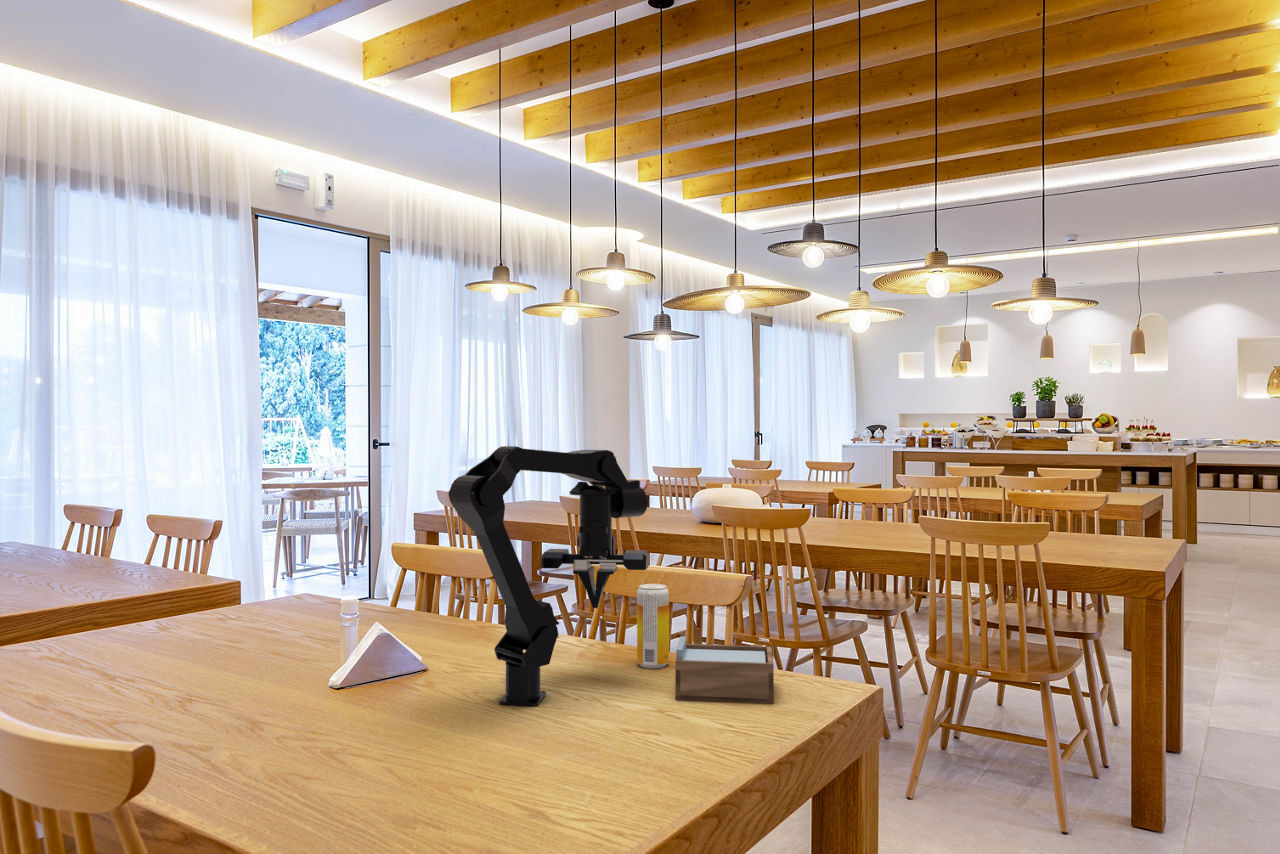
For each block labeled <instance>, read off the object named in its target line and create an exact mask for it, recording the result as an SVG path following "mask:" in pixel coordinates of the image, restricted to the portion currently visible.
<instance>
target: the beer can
mask: <svg viewBox="0 0 1280 854" xmlns="http://www.w3.org/2000/svg"><path fill="white" fill-rule="evenodd" d="M669 591H670V590H668V586H667V585H666V584H661V583H646V584H640V585H639V586H638V589H637V591H636V662H637V663H638V665H639V666H640V667H641V668H644V669H653V670H655V669H662V668H665V667H666V666H667V664H668V663H669V661H670V592H669Z"/></svg>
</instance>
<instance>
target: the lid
mask: <svg viewBox="0 0 1280 854" xmlns="http://www.w3.org/2000/svg"><path fill="white" fill-rule="evenodd" d="M686 644H687V636H686V635H685V636H684V635H681V636H680V637H679V639H678V644H677V646H676V650H675V651H676V652H675V661H676V660H694V661H724V662H754V663H766V660H765V651H739V650H707V649H686Z"/></svg>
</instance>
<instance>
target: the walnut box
mask: <svg viewBox="0 0 1280 854" xmlns="http://www.w3.org/2000/svg"><path fill="white" fill-rule="evenodd" d="M686 649H707V650H739V651H765V660H766V663H754V662H724V661H694V660H676V659H675V666H674V667H675V668H674V669H675V674H674V675H675V680H674V681H675V689H674V690H675V691H674V692H675V693H674V694H675V701H688V702H690V701H691V702H692V701H693V702H713V703H714V702H715V703H716V702H717V703H719V702H720V703H736V704H737V703H741V704H766V705H767V704H768V705H774V699H775V698H774V695H775V693H774V691H775V690H774V689H775V688H774V685H775V684H774V681H775V680H774V676H775V675H774V673H775V672H774V670H775V668H774V664H775V663H774V658H773V651H772V646H767V645H735V644H710V643H709V644H707V643H706V644H705V643H686Z"/></svg>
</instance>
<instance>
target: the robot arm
mask: <svg viewBox="0 0 1280 854" xmlns="http://www.w3.org/2000/svg"><path fill="white" fill-rule="evenodd" d="M521 471H527V472H528V471H529V472H541V473H551V474H562V475H565V476H568V477H570V478H571V479H576V480H578V482H577V484H576V485H575V486H574V487H572V488H571V490H570V491H569V495H571V496H579V527H578V528H579V530H578V533H577V539H576V546H577V547H578V549H579V551H578V552H579V553H570V550H569V549H568V548H549V549H547V550H545V551H544V552H543V553H542V554H541V557H540V568H541V569H560V567H561V566H562V565H563V564H565V565H573V570H572V573H573V574H575V575H577V576H578V577H579V579H580V581H581V582H582V584H583V586H584V588H585V591H586V593H587V596H588V598H589V601H590V605H591V607H592V608H593V609H598V608H599V606H600V603H601V599H602V596H603V593H604V590H605V586H606V585H607V582H608V579H609V578H610V576H611V575H615V573H616V572H617V571H618V569H619V567H618V566H624V568H626V570H628V571H647V569H648V568H649V567H650V552H648V551H647V550H646V549H628V550H626V551H625V552H624V554H619V553H617V554H616V537H615V535H614V533H613V529H612V526H613V525H612V524H613V522H612V520H613V519H621V518H622V519H623V518H635V517H641V516H643V515H644V514H645V513H646V511H647V509H648V505H649V499H648V497H647V493H646V492H645V490H644V489H643V487H641V480H638V479H628V480H627V478H626V476H625V474H624V472H623V470H622V469H621V467H620V465H619V463H618V461H617V457H616V456H615V454H614V452H613V451H611V450H608V449H580V450H578V449H577V450H573V451H572V450H571V451H568V452H563V451H562V452H561V451H555V450H554V451H552V450H541V449H533V448H522V447H520V446H516V445H515V446H512V445H509V446H508V445H507V446H504V445H503V446H502V445H501V446H499V447H497V449H495V450H494V451H492V453H491V454H490V455H489V456H487V458H485V459H484V460H482V461H480V462H479V463H477V464H476V465H474V466H473V467H471V468H470V469H469V470H468V471H467V472H466V473H465V474H463V475H460V476H458V477H457V478H456V479H454V480H453V482H452V483H451V486H450V488H449V490H448V499H449V502H450V504H451V506H452V507H453V509H454V510H455V512H456V514H457V515H458V517H459V518H460V519H461V520H462V521H463V522H464V523H465V524H466V525H467V526H468V527H469V528H470V530H472V531H473V533H474V534H475V536H476V539H477V541H478V543H479V546H480V548H481V551H482V553H483V555H484V557H485V560H486V563H487V565H488V567H489V570H490V572H491V575H492V576H493V579H494V582H495V584H496V586H497V587H496V588H497V589H498V591H499V593H500V596H501V599H502V601H503V603H504V605H505V614H504V625H505V629H506V632H505V633H504V635H503V636H502V637H501V639H500V640H499V641H498V643H497V644H496V645H495V647H494V648H493V649H494V653H495V657H496V660H498V661H503V662H505V693H504V695H503V696H502V697H501V698H500V699H499V700H498V704H500V705H513V706H519V705H520V706H538V705H539V704H540V703H541V702H542V701H543V699H544V698H545V696H546V695H547V691H546V690H541V667H544V666H548V665H550V663H551V660H552V655H553V652H554V649H555V646H556V643H557V639H558V638H559V630H558V626H557V625H559V624H560V622H559V621H558V620H557V619H556V617H555V614H554V610H553V607H552V605H551V603H549V602H546V601H543V600H542V601H541V600H537V599H536V598H535V597H534V594H533V592H532V590H531V587H530V585H529V582H528V579H527V578H526V577H527V576H526V575H525V573H524V571H523V568H522V565H521V563H520V560H519V557H518V556H517V552H516V550H515V548H514V546H513V543H512V540H511V538H510V535H509V534H508V533H509V532H508V531H507V528H506V526H505V523H504V521H505V520H504V519H505V511H506V503H505V500H504V495H505V494H506V493H507V492H509V490H510V489H511V488H512V486H513V484H514V482H515V480H516V478H517V475H518V474H519V473H520V472H521ZM589 484H590V485H589ZM612 518H613V519H612ZM594 565H599V567H600V568H599V569H597V571H596V576H595V566H594ZM595 578H596V579H595ZM595 580H596V581H595ZM524 650H525V651H524Z"/></svg>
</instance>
